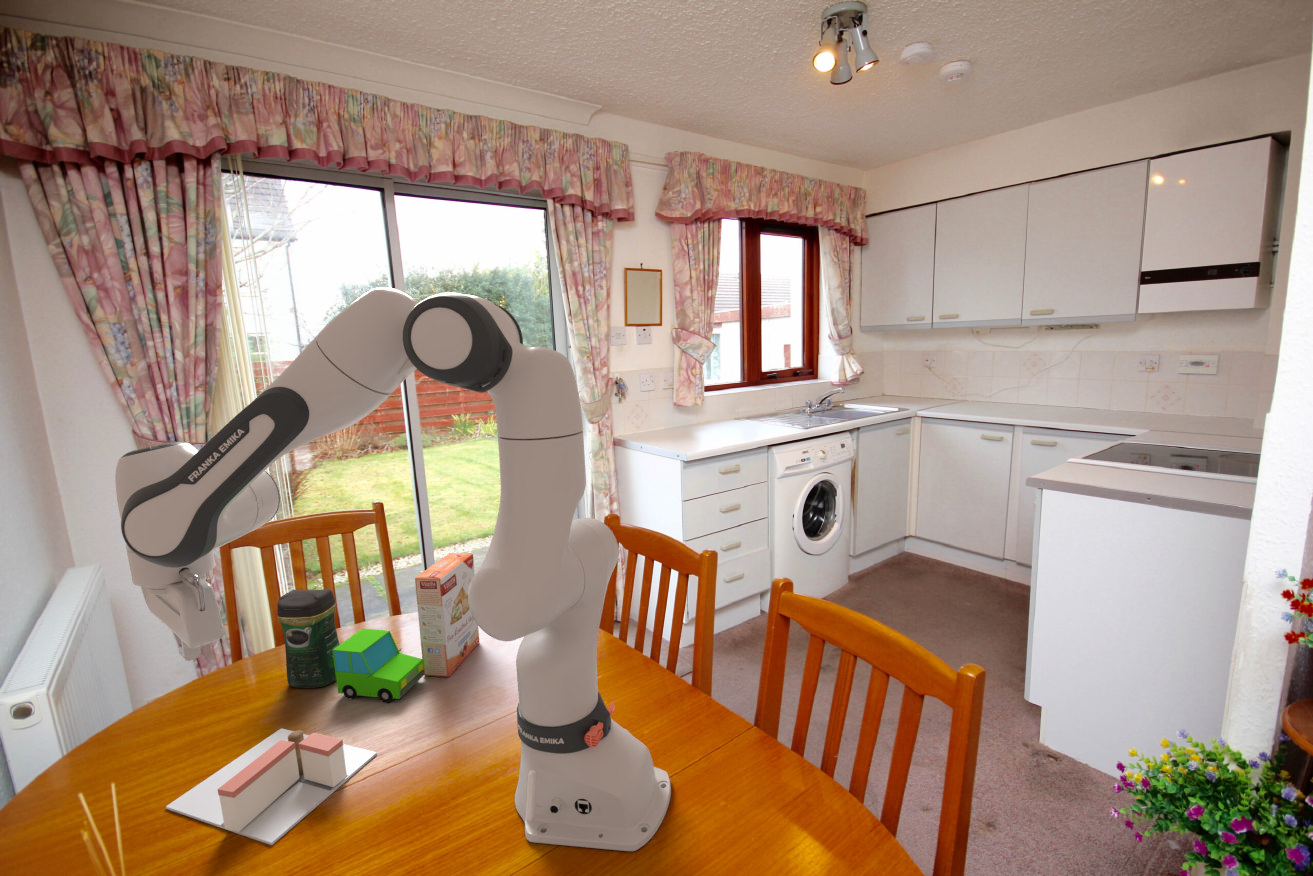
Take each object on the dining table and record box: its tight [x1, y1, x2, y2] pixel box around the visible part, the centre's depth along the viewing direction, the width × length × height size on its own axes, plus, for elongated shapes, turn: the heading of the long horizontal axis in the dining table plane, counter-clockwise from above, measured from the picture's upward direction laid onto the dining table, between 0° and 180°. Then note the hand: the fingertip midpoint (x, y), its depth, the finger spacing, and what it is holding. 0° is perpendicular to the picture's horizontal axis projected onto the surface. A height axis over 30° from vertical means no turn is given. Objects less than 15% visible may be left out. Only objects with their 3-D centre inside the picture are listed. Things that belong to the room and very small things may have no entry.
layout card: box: [165, 727, 378, 846], centre depth 89 cm, size 21×18×1 cm
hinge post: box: [288, 730, 304, 776], centre depth 90 cm, size 2×2×7 cm
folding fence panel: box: [218, 740, 300, 832], centre depth 83 cm, size 10×3×6 cm, turn 167°
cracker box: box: [414, 552, 480, 678], centre depth 121 cm, size 14×6×21 cm, turn 172°
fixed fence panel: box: [298, 732, 347, 787], centre depth 88 cm, size 6×3×6 cm, turn 71°
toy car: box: [332, 628, 425, 704], centre depth 111 cm, size 10×13×10 cm
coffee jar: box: [277, 588, 341, 689], centre depth 115 cm, size 10×8×19 cm
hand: (190, 656), depth 81 cm, fingers closed
